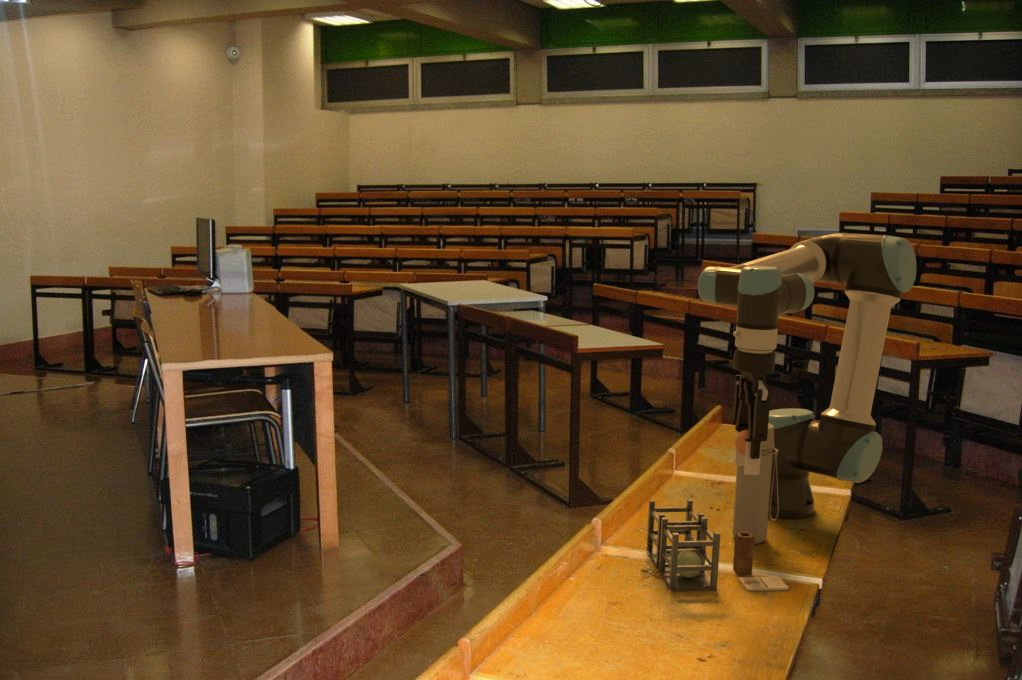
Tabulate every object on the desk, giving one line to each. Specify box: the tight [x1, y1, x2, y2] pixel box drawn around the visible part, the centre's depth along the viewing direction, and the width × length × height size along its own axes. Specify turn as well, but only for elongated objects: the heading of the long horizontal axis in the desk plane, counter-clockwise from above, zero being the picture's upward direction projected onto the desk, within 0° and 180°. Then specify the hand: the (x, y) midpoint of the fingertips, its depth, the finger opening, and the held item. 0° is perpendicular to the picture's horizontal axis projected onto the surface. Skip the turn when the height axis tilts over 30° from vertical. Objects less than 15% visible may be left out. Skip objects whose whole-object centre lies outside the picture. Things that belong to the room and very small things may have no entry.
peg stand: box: [732, 532, 755, 576], centre depth 190 cm, size 3×3×8 cm
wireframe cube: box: [646, 498, 705, 570], centre depth 194 cm, size 9×9×11 cm
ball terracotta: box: [734, 430, 762, 455], centre depth 185 cm, size 5×5×5 cm
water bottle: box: [731, 423, 779, 545], centre depth 205 cm, size 9×8×25 cm
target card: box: [737, 576, 790, 592], centre depth 185 cm, size 8×5×1 cm, turn 96°
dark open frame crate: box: [658, 516, 721, 592], centre depth 185 cm, size 9×9×11 cm
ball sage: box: [677, 551, 702, 578], centre depth 185 cm, size 5×5×5 cm
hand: (746, 469), depth 186 cm, fingers closed on ball terracotta, 5 cm apart
